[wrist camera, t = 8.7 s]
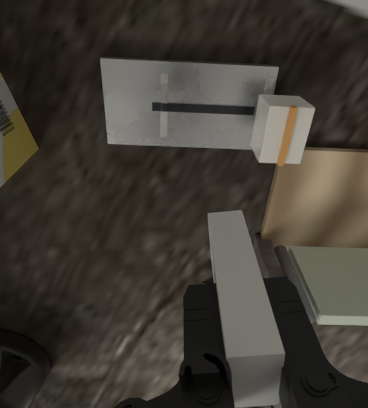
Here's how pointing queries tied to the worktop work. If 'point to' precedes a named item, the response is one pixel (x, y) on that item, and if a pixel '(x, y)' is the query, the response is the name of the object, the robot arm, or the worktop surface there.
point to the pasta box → (12, 135)
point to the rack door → (329, 282)
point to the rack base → (315, 205)
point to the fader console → (182, 101)
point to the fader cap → (281, 128)
